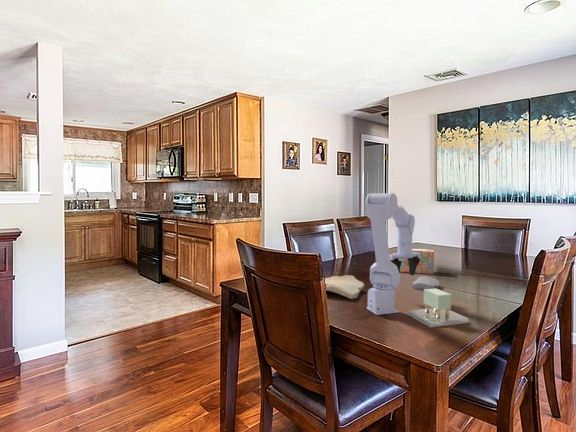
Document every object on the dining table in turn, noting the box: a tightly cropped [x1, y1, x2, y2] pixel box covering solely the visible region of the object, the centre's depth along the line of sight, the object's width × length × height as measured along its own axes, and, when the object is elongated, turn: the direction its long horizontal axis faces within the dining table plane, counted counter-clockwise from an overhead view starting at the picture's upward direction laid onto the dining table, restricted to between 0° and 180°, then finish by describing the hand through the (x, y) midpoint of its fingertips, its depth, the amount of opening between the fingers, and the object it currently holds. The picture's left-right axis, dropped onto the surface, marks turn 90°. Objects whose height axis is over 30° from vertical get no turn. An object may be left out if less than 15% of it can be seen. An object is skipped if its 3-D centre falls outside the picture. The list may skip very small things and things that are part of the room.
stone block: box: [412, 276, 441, 291], centre depth 171 cm, size 12×5×10 cm
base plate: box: [406, 304, 470, 328], centre depth 130 cm, size 15×13×4 cm
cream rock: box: [324, 274, 365, 300], centre depth 165 cm, size 24×8×20 cm
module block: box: [423, 288, 452, 310], centre depth 130 cm, size 5×8×5 cm, turn 15°
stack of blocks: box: [392, 248, 435, 275], centre depth 205 cm, size 21×6×12 cm, turn 71°
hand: (404, 275), depth 155 cm, fingers open, 7 cm apart
